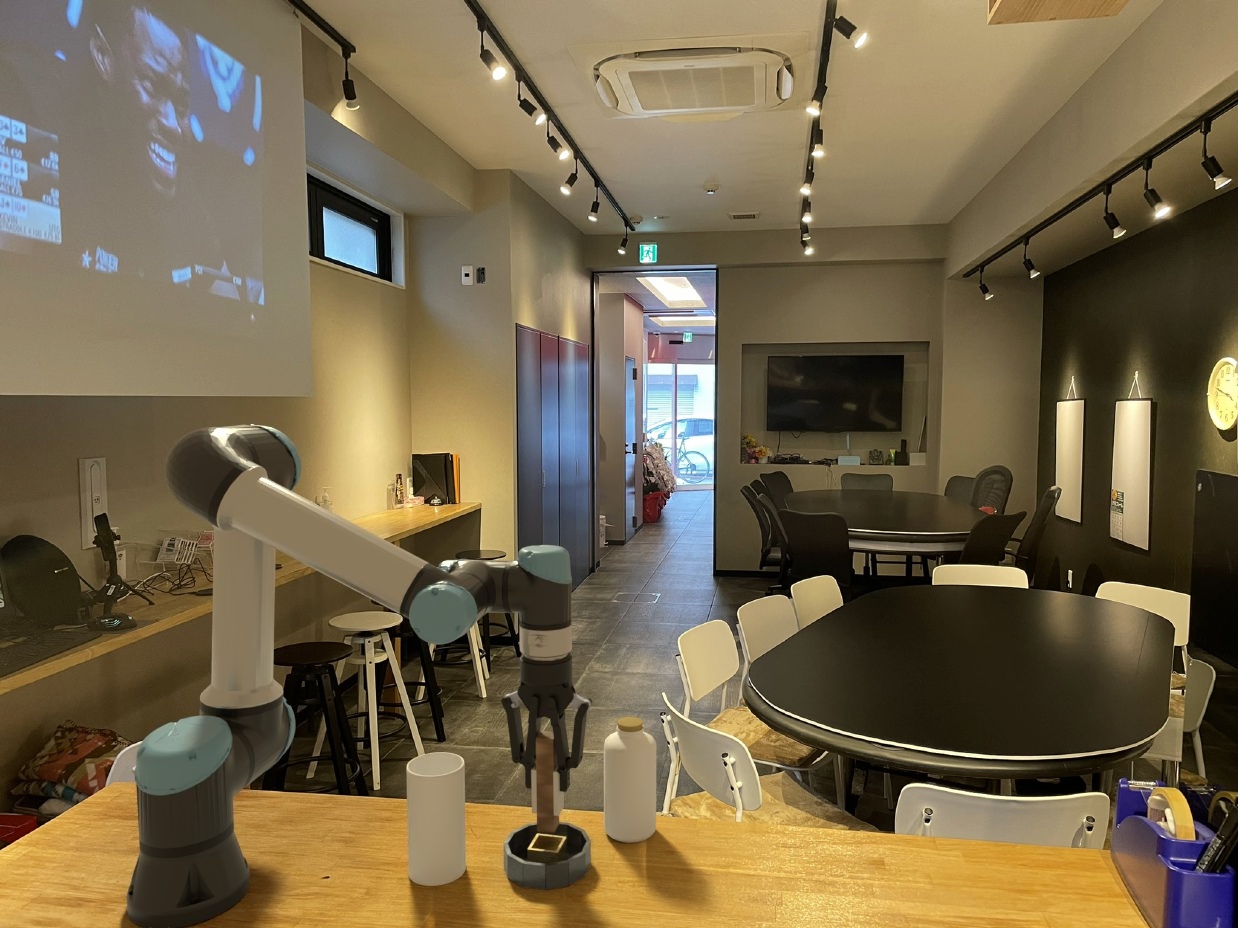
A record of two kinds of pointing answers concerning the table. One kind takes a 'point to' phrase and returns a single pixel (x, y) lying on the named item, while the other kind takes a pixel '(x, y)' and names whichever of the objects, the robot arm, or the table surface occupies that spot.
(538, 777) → the square wooden stick
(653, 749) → the potion bottle
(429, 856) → the cup
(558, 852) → the bowl
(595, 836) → the table surface
